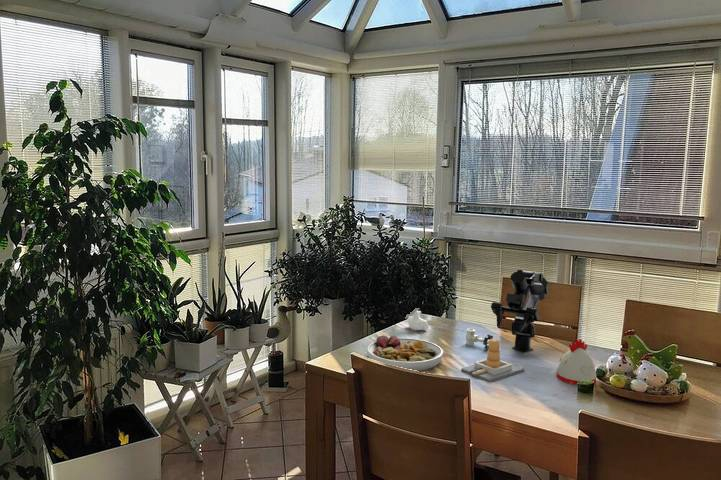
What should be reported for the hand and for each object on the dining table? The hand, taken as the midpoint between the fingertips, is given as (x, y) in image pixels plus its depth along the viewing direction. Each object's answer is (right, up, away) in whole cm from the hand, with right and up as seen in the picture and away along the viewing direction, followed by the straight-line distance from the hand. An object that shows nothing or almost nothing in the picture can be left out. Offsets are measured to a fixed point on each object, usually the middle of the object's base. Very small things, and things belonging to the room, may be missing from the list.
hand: (508, 329), depth 239 cm
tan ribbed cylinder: (-8, -14, -9) cm, 18 cm away
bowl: (-41, -13, +2) cm, 43 cm away
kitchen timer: (+22, -17, -14) cm, 31 cm away
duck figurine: (-33, -7, +44) cm, 55 cm away
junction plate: (-8, -15, -8) cm, 19 cm away
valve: (-8, -11, +21) cm, 25 cm away
